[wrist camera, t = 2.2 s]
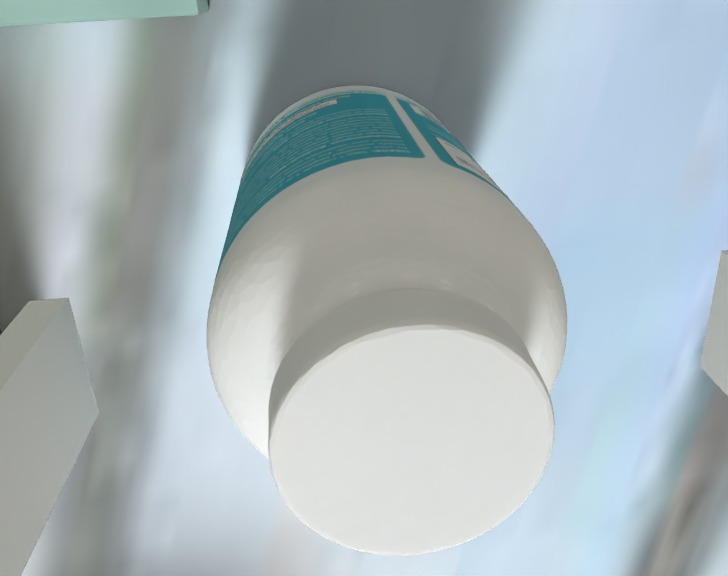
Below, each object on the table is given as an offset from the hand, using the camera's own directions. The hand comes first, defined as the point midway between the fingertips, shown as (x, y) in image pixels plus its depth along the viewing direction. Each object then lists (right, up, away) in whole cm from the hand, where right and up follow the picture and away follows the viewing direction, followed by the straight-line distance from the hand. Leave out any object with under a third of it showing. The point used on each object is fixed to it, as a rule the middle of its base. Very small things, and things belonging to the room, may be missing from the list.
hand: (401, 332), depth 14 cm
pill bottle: (-1, +4, +9) cm, 10 cm away
